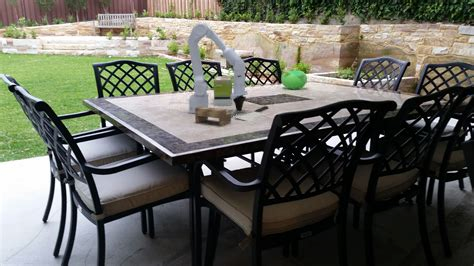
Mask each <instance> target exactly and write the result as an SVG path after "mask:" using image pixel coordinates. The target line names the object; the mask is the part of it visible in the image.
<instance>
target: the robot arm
mask: <svg viewBox="0 0 474 266" xmlns="http://www.w3.org/2000/svg"><path fill="white" fill-rule="evenodd" d="M204 37H205V38H206V39H209V40H211V41H212V42H213V43H214V44H215V45H216V46H217V47H218V48H219V49H220V51H222V53H221V55H222V57H223V58H224V59H225V60H226V62H228V64H229V65H230V66H232V68H233V92H232V94H231V95H230V99H232V102H234V103H233V104H234V106H235V110H238V112H242V110H243V106H244V103H245V102H246V101H245V100H246V98H247V97H246V96H247V95H248V90H246V75H245V74H246V71H245V69H246V63H245V61H244V60H243V59H242V57H241V56H239V54H237V53H236V49H235V48H232V47H231V46H227V45H226V44H225V43H224V42H223V40H222V39H221V38H220V37H219V35H218V34H217V32H215V31H214V29H212V28H211V27H209V25H208V24H207V23H204V22H197V23H196V24H195V25H194V26H193V27H192V28H191V32H190V34H189V36H188V40H187V44H188V49H189V50H188V51H189V56H190V61H191V67H192V73H193V83H194V87H193V92H194V93H193V94H191V95H190V96H189V98H188V106H189V107H188V110H189V111H188V113H190V114H195V108H197V107H200V106H201V107H209V93H208V92H207V91H208V89H209V86H208V83H207V81H206V78H205V76H204V72H203V71H204V70H203V64H202V60H201V59H202V57H201V54H200V48H199V43H200V41H201V40H202V39H203V38H204Z"/></svg>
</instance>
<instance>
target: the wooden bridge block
mask: <svg viewBox="0 0 474 266" xmlns="http://www.w3.org/2000/svg"><path fill="white" fill-rule="evenodd" d="M226 112H227V108H219V107H218V108H215V107H209V106H208V107H201V106H200V107H197V108H195V113H194V115H195V116H194V117H195V120H194V121H195V123H196V124H201V123H202V122H206V121H208V120H209V118H212V119H218V126H219V127H223V125H224V126H226V124H227V125H229V124H231V123H232V118H231V113H226ZM205 120H206V121H205ZM230 122H231V123H230ZM228 123H229V124H228Z"/></svg>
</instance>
